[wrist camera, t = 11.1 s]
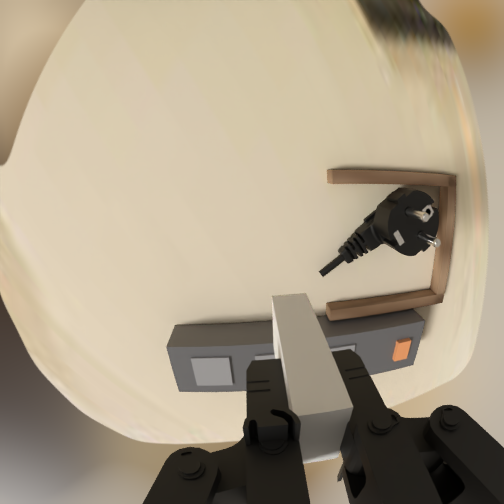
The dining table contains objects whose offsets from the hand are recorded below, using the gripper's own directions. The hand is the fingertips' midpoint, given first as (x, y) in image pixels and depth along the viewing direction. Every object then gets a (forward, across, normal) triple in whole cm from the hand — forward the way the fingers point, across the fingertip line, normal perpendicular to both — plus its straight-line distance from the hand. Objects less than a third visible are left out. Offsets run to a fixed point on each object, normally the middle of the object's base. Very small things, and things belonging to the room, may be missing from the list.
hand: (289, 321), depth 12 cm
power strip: (+14, +3, -12) cm, 18 cm away
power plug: (+10, +5, -4) cm, 12 cm away
